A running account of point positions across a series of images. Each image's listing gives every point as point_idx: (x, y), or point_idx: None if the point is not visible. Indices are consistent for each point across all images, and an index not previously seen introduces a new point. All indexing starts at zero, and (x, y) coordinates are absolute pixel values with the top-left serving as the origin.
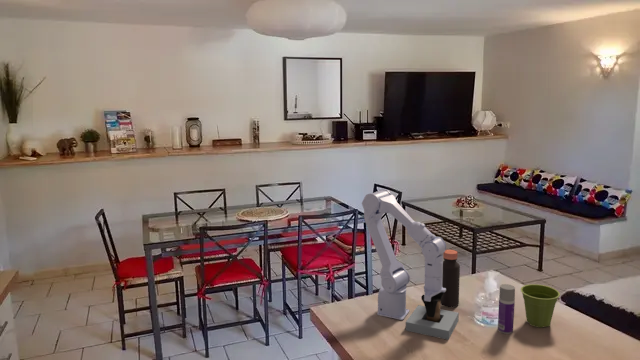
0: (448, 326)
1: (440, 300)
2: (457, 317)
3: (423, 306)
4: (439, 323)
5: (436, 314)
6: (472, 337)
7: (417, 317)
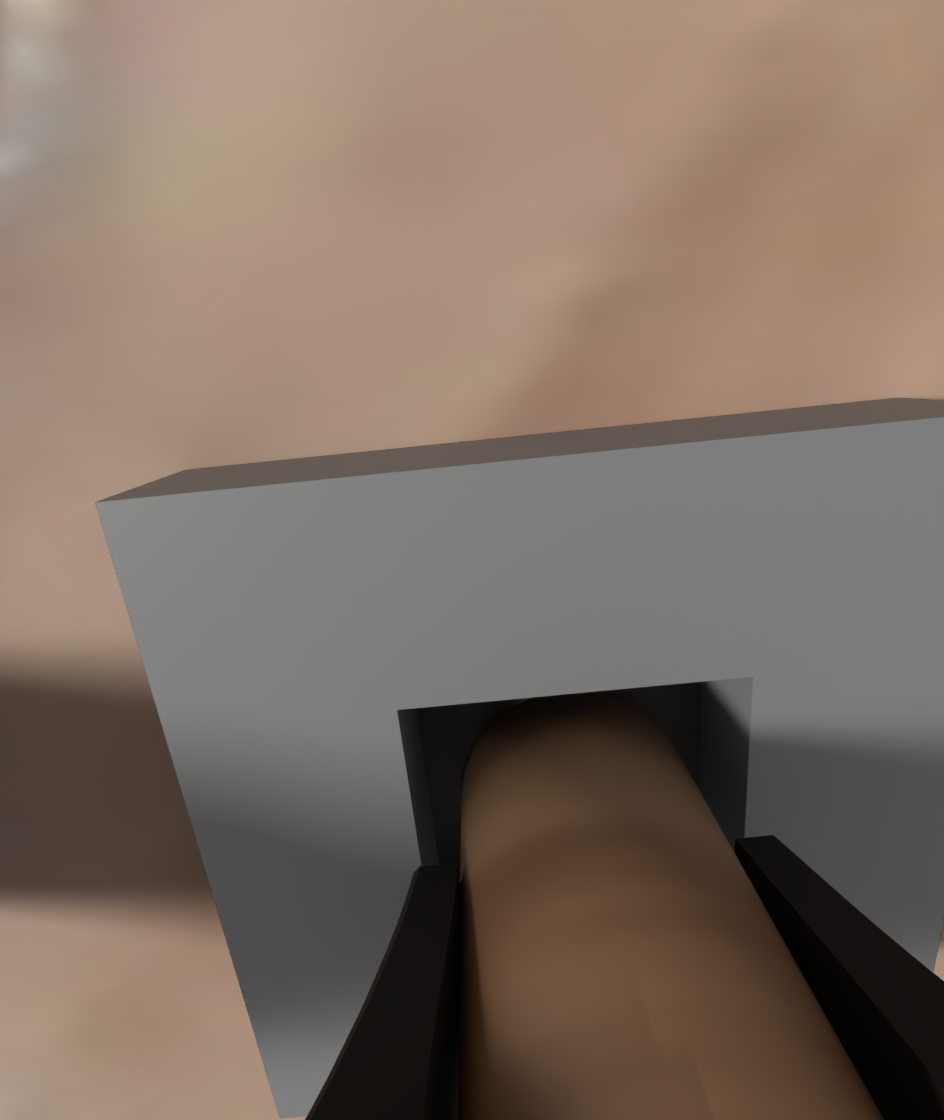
0: (838, 480)
1: (344, 1115)
2: (234, 479)
3: (281, 1055)
4: (775, 667)
5: (720, 841)
6: (645, 23)
7: None
